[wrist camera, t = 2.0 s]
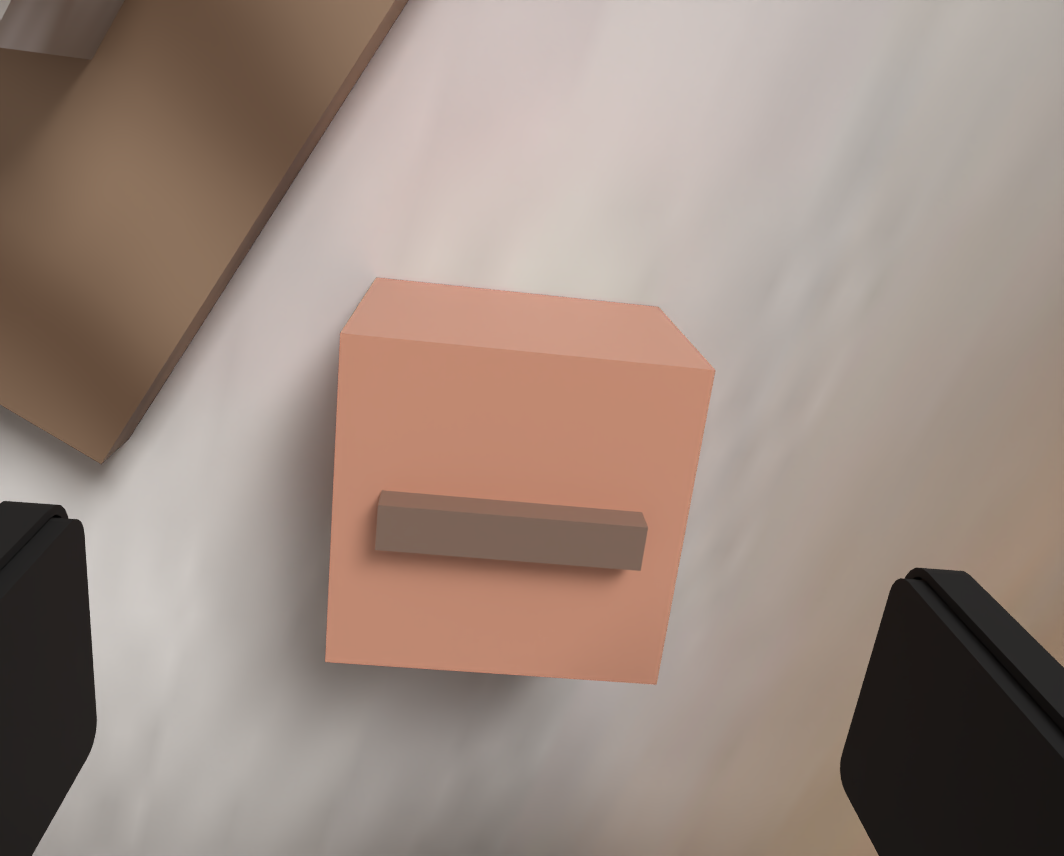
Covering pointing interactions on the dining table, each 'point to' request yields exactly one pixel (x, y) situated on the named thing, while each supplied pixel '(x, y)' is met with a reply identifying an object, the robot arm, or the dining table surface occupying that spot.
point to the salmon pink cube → (510, 482)
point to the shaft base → (147, 181)
